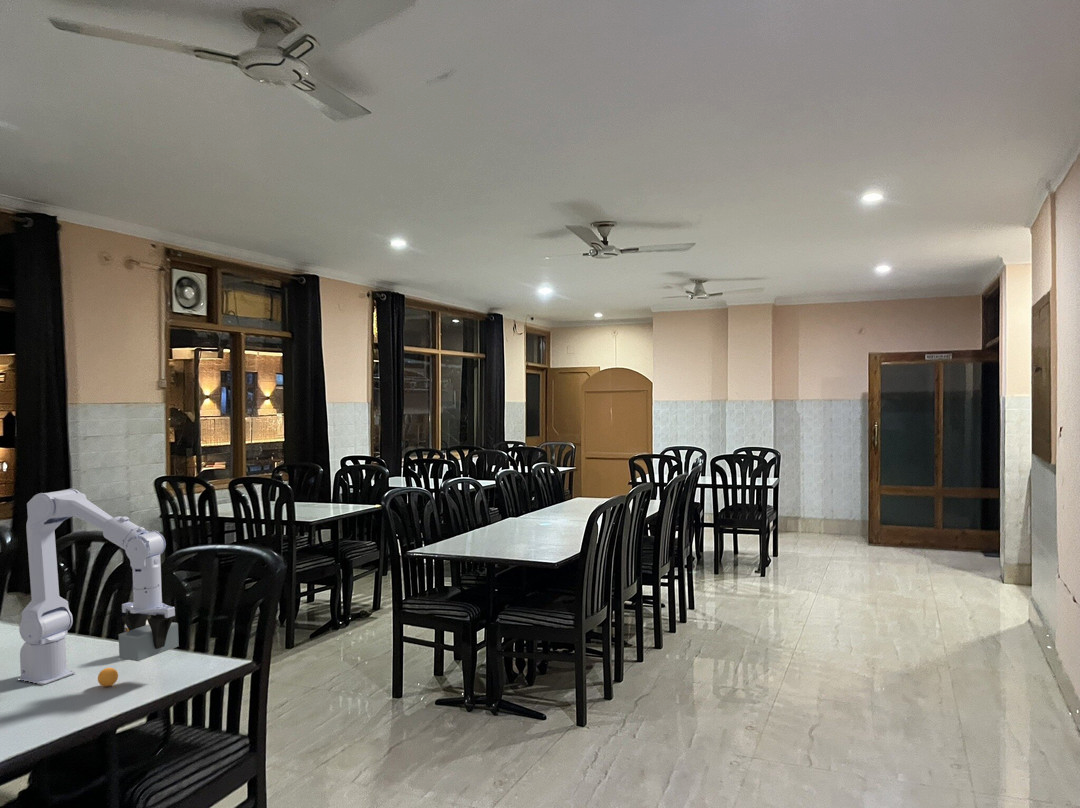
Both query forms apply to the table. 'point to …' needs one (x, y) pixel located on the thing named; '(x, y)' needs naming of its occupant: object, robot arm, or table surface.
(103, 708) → the table surface
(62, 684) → the table surface
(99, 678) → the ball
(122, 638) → the grey rectangular block
